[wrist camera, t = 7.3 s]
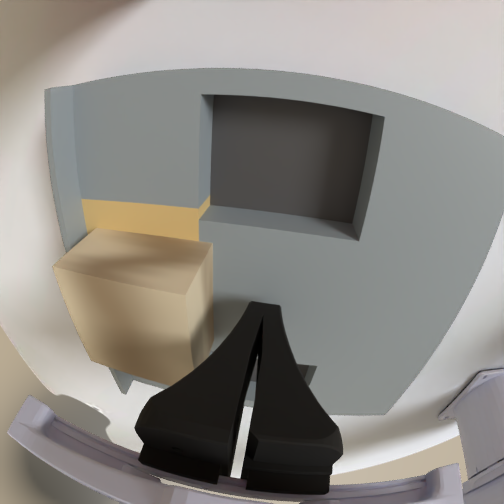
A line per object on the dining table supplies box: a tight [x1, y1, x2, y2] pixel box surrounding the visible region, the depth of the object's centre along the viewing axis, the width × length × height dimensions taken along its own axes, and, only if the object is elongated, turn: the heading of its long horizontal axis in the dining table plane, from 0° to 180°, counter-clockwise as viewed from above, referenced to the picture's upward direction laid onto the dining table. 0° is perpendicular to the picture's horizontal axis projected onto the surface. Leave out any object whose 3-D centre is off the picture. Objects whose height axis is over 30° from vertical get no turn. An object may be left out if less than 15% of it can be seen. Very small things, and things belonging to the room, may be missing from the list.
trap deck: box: [45, 68, 504, 415], centre depth 13 cm, size 20×20×4 cm
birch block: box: [52, 228, 214, 386], centre depth 12 cm, size 6×6×4 cm
